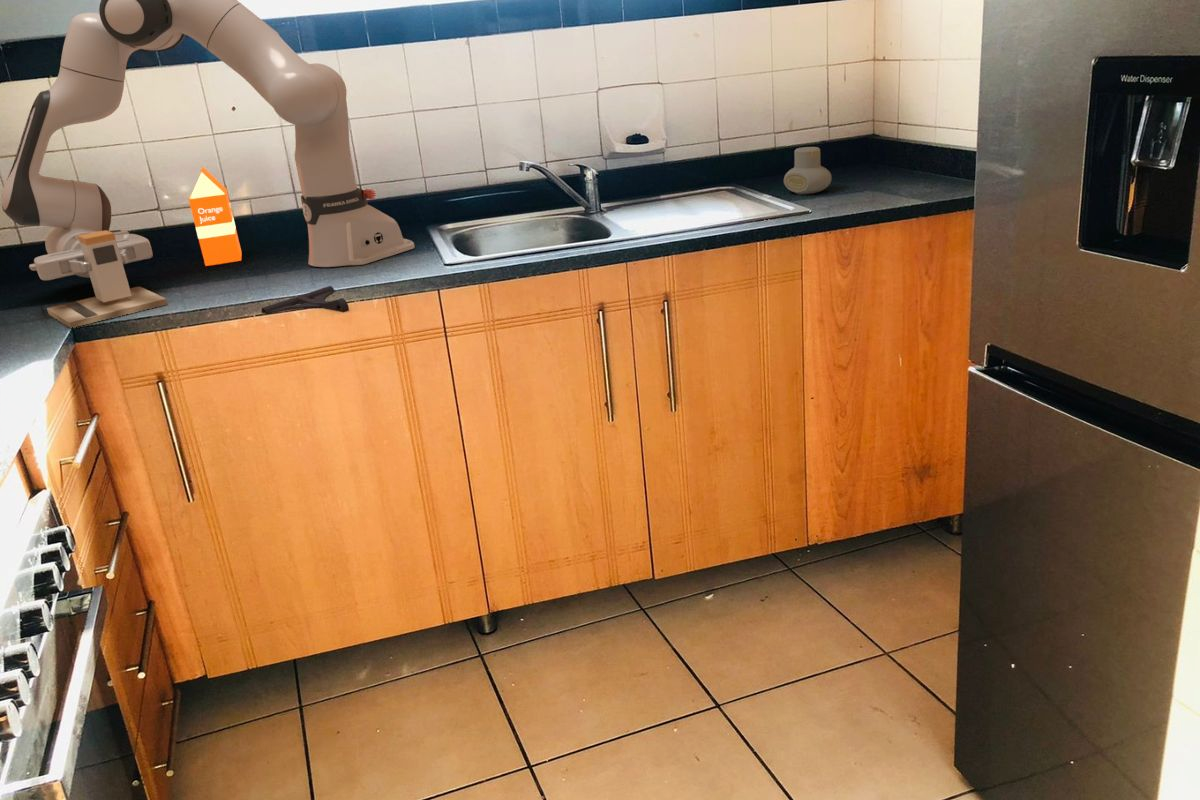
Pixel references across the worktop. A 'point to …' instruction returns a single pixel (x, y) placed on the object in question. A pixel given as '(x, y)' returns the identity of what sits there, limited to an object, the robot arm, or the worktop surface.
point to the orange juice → (214, 221)
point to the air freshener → (807, 172)
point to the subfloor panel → (105, 307)
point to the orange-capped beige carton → (105, 265)
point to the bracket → (309, 302)
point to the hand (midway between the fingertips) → (105, 263)
